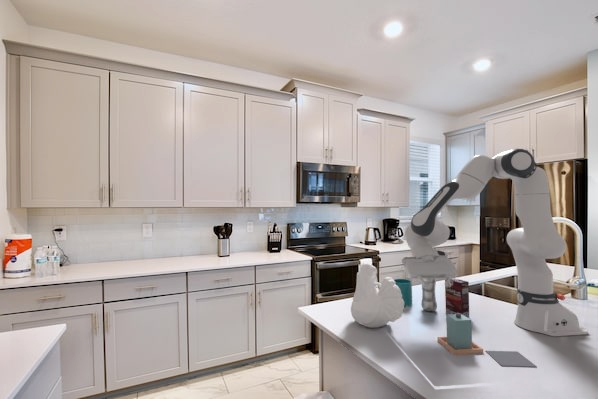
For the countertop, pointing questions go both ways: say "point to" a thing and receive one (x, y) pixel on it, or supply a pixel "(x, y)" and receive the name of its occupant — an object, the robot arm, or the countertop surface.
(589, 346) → the countertop surface
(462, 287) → the supplement box
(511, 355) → the mat
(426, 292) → the metal bottle
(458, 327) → the cover
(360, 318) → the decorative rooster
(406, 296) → the cup
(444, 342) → the dish
